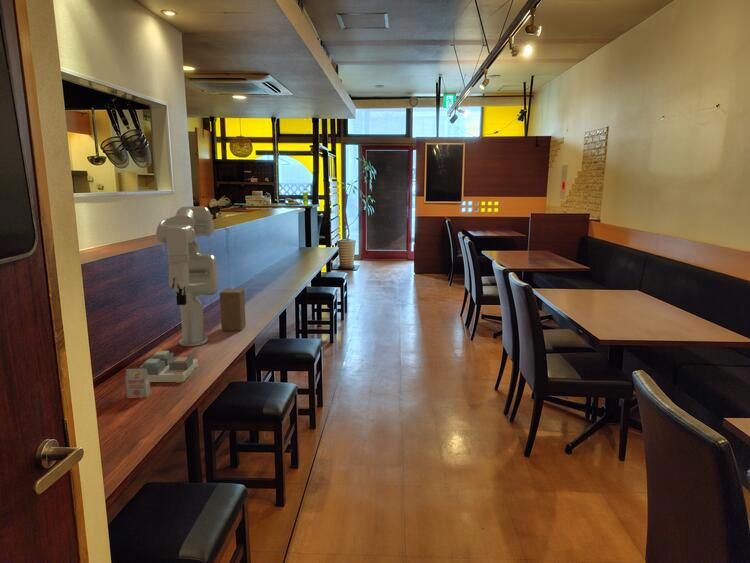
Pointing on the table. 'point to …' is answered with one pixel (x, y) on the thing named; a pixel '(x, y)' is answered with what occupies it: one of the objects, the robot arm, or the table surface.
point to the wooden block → (232, 309)
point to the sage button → (161, 354)
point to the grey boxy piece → (137, 383)
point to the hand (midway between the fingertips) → (181, 304)
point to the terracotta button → (181, 359)
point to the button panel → (170, 369)
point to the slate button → (152, 362)
